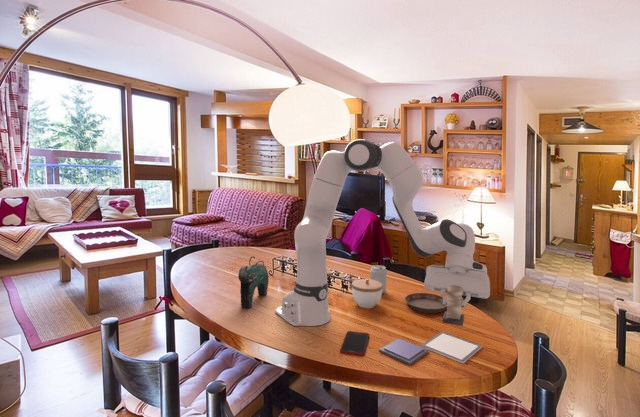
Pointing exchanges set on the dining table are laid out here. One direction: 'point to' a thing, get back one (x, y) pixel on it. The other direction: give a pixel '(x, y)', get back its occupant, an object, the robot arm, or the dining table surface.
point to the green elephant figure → (252, 282)
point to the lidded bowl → (366, 292)
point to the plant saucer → (425, 302)
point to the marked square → (452, 347)
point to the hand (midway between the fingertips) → (454, 305)
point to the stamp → (454, 306)
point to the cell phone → (355, 343)
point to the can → (379, 275)
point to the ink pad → (404, 351)
